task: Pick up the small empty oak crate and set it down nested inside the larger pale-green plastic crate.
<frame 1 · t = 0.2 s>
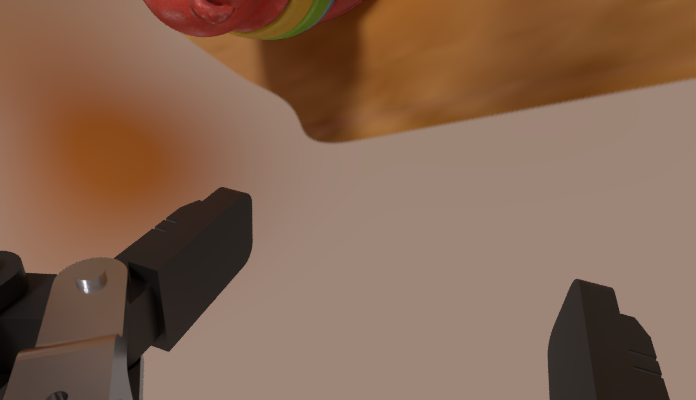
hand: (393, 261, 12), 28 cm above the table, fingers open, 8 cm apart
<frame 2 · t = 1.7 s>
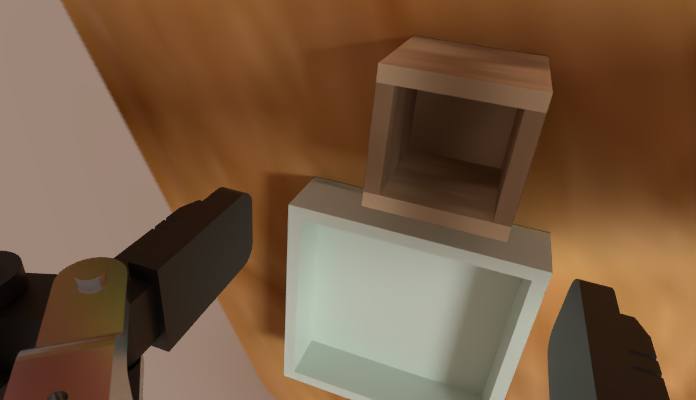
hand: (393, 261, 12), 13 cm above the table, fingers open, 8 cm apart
green crate: (407, 294, 29), on the table
oak crate: (464, 109, 23), on the table
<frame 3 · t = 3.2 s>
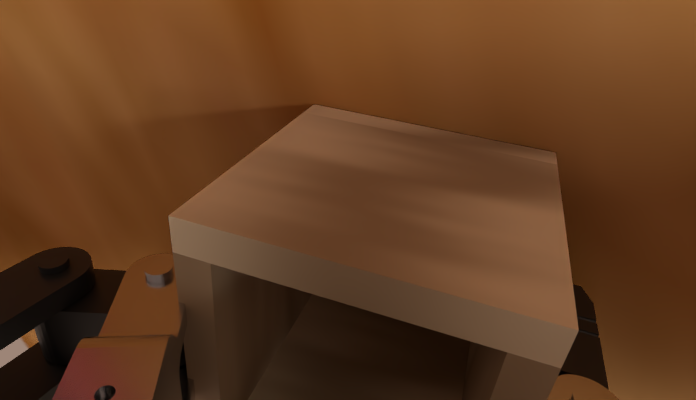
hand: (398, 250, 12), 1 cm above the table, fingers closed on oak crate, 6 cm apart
oak crate: (409, 228, 13), on the table, touching gripper
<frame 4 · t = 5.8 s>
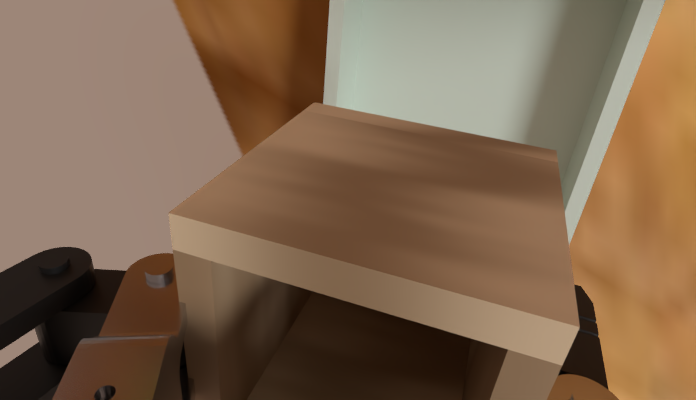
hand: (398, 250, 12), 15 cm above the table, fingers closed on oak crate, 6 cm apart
green crate: (465, 94, 25), on the table
oak crate: (409, 226, 13), point 14 cm above the table, touching gripper
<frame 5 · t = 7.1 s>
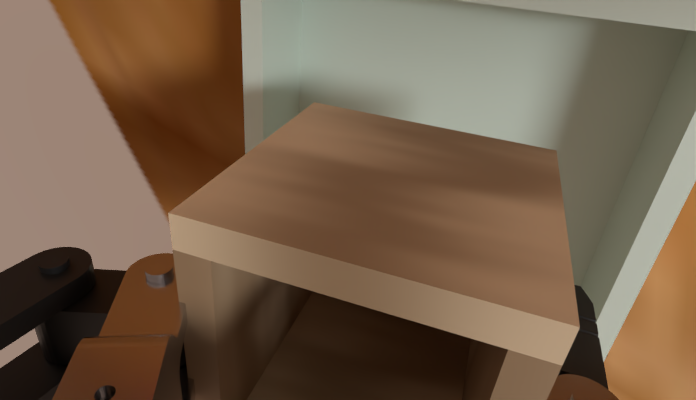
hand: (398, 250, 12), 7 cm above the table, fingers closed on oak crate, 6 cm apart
green crate: (447, 157, 18), on the table
oak crate: (409, 226, 13), point 6 cm above the table, touching gripper
when the fingers open (4 cm above the table, at t = 8.3 s): oak crate drops 2 cm, resting on green crate.
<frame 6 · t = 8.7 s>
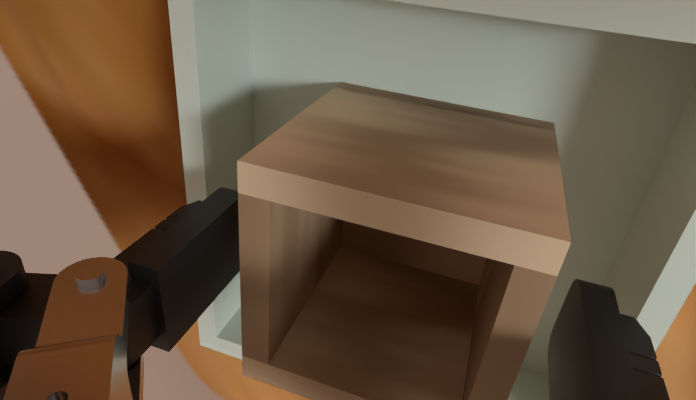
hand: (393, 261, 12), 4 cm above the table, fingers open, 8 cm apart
green crate: (425, 186, 15), on the table
oak crate: (423, 194, 15), point 1 cm above the table, touching green crate
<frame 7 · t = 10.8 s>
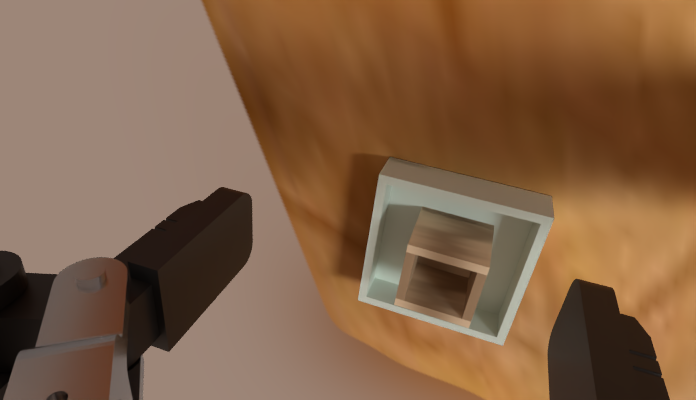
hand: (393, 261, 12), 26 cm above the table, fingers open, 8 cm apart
green crate: (449, 241, 41), on the table
oak crate: (449, 244, 41), point 1 cm above the table, touching green crate
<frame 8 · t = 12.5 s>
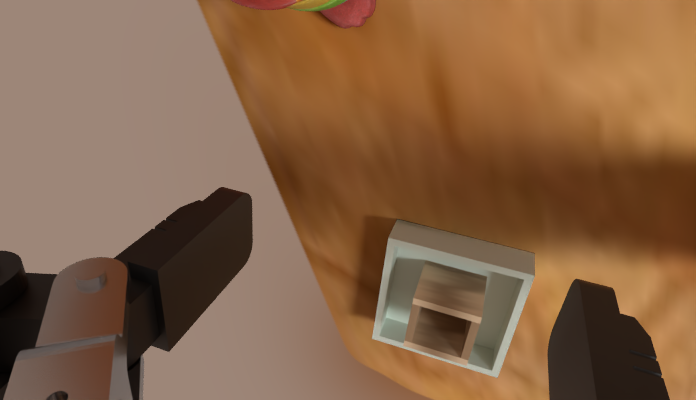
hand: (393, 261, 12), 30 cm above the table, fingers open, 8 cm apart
green crate: (450, 288, 48), on the table
oak crate: (449, 291, 48), point 1 cm above the table, touching green crate
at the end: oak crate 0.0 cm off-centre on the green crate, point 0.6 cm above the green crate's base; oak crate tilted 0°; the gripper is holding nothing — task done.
